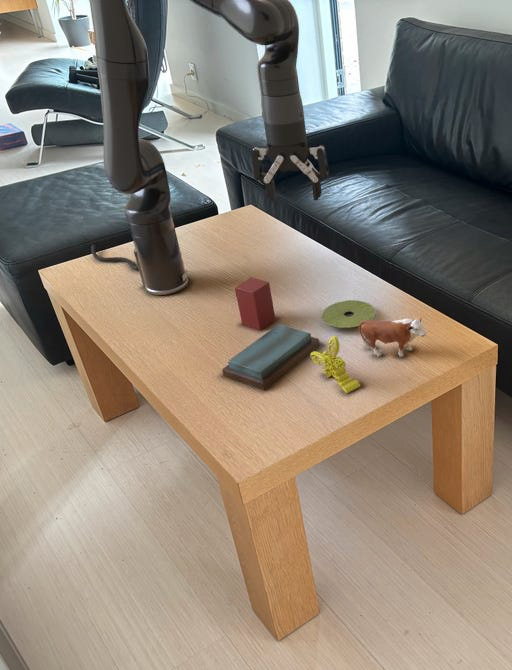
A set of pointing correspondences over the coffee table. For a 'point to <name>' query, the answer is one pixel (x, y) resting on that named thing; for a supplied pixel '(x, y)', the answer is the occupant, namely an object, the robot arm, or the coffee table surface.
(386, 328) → the bull figurine
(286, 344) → the blue-grey flat block
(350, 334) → the coffee table surface
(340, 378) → the decorative insect
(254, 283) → the pillar block
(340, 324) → the mat
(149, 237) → the robot arm
